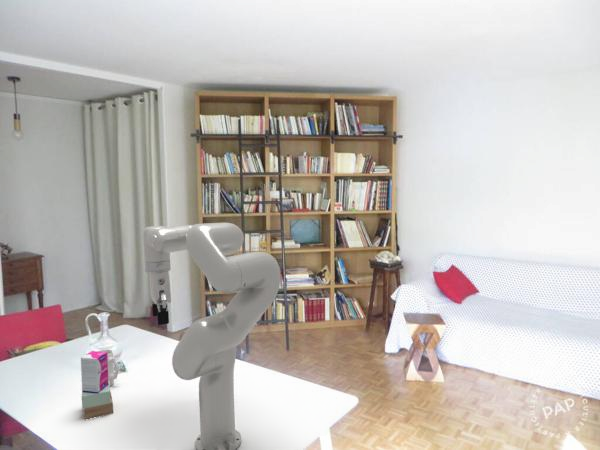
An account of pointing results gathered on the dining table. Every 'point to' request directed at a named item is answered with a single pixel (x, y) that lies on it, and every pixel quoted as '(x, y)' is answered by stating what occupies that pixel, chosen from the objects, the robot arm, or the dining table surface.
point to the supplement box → (94, 372)
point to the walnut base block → (99, 410)
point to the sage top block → (96, 398)
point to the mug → (111, 366)
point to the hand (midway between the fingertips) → (160, 319)
